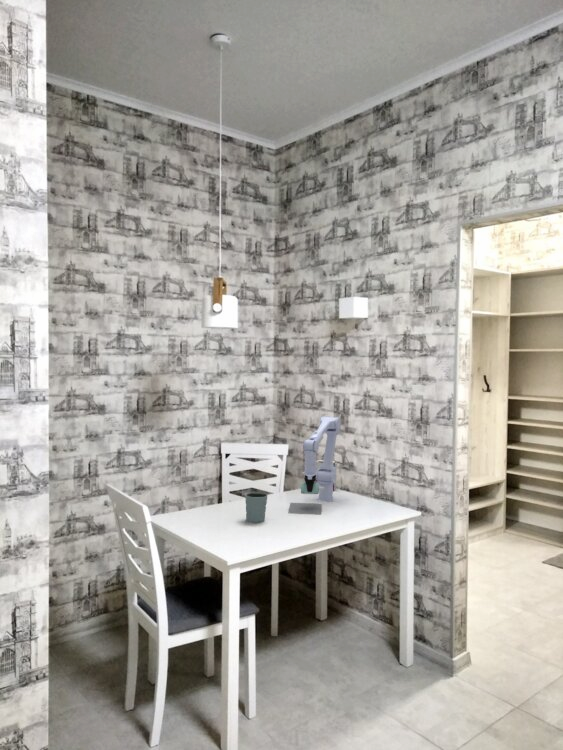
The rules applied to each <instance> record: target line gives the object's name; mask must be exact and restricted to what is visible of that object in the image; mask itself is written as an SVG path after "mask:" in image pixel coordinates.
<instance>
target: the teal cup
mask: <svg viewBox="0 0 563 750" xmlns="http://www.w3.org/2000/svg"><path fill="white" fill-rule="evenodd" d="M267 501H268V494H267V493H265V492H260V491H259V492H258V491H256V492H254V491H251V492H247V493H245V505H246V506H245V513H246V514H245V515H246V516H245V520H246V522H247V521H248V522H247V523H250V522H252V523H251V524H261V523H264V522H265V520H266V511H267V503H268V502H267Z"/></svg>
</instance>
